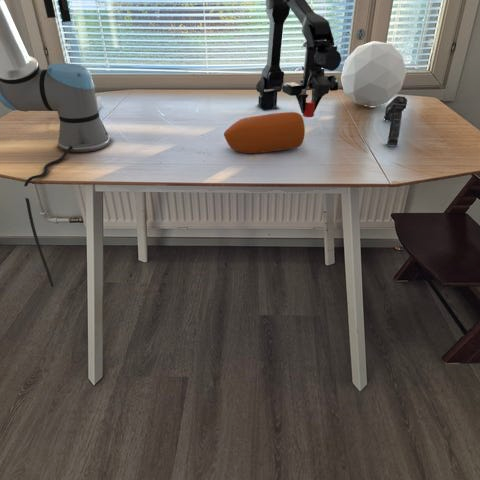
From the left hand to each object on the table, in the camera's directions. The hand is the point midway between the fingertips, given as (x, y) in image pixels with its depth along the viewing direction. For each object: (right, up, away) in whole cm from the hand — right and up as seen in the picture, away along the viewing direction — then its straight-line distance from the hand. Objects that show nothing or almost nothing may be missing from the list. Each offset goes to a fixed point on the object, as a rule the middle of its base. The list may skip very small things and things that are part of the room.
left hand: (59, 19), depth 139 cm
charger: (+3, -24, +20) cm, 32 cm away
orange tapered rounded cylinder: (+70, -47, -11) cm, 85 cm away
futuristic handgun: (+114, -39, +1) cm, 121 cm away
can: (+86, -33, +1) cm, 92 cm away
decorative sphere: (+115, -20, +29) cm, 120 cm away
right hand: (+86, -32, 0) cm, 91 cm away
